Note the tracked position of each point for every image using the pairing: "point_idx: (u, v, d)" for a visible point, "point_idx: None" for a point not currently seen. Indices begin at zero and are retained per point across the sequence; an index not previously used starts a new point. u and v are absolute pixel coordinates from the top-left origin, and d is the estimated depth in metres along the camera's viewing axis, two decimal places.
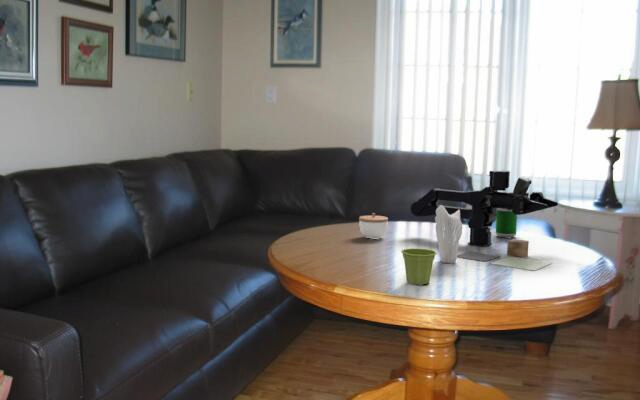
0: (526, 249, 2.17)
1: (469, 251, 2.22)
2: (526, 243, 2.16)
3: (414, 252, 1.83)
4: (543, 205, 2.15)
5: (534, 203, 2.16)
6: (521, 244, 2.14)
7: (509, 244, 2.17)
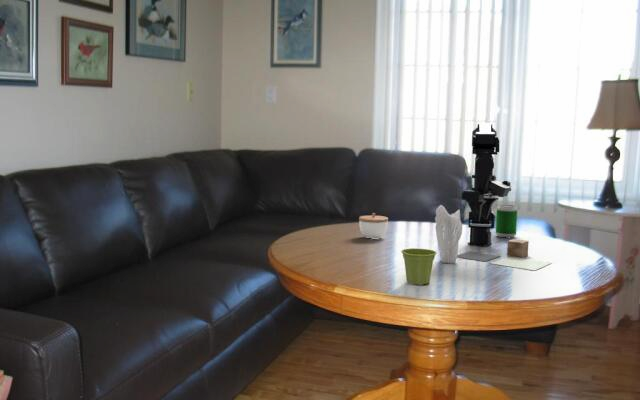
0: (526, 249, 2.17)
1: (469, 251, 2.22)
2: (526, 243, 2.16)
3: (414, 252, 1.83)
4: (477, 218, 2.10)
5: (478, 210, 2.09)
6: (521, 244, 2.14)
7: (509, 244, 2.17)
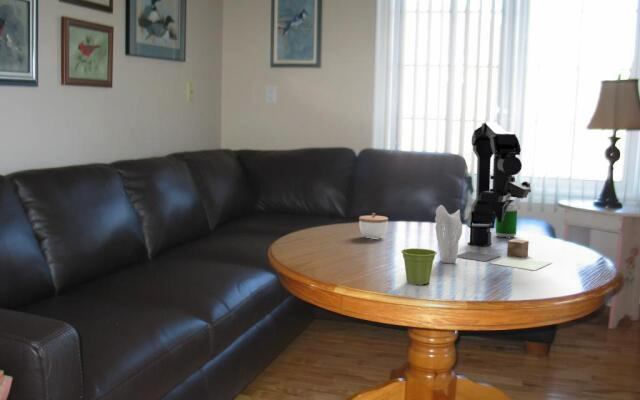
0: (526, 249, 2.17)
1: (469, 251, 2.22)
2: (526, 243, 2.16)
3: (414, 252, 1.83)
4: (500, 219, 2.08)
5: (501, 210, 2.07)
6: (521, 244, 2.14)
7: (509, 244, 2.17)
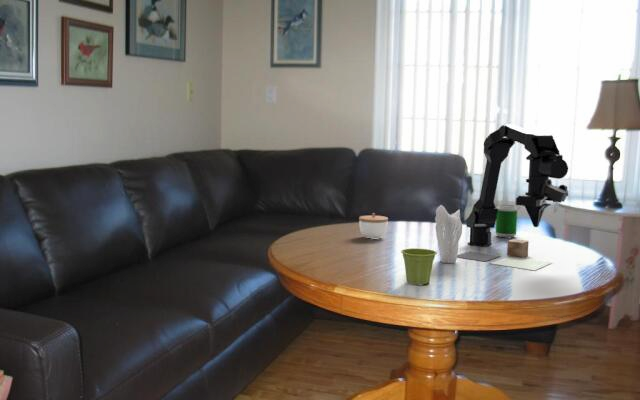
0: (526, 249, 2.17)
1: (469, 251, 2.22)
2: (526, 243, 2.16)
3: (414, 252, 1.83)
4: (536, 223, 2.01)
5: (537, 215, 2.00)
6: (521, 244, 2.14)
7: (509, 244, 2.17)
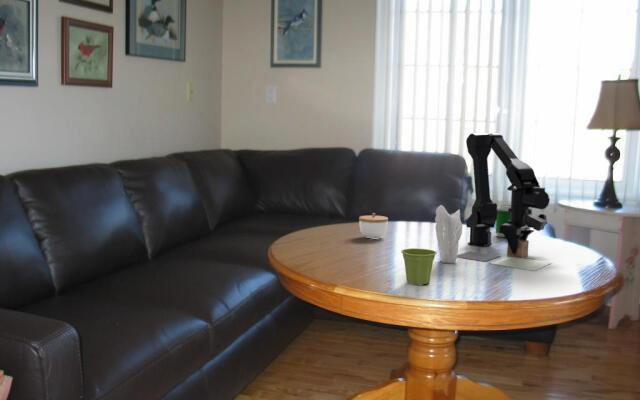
0: (526, 249, 2.17)
1: (469, 251, 2.22)
2: (526, 243, 2.16)
3: (414, 252, 1.83)
4: (514, 250, 2.15)
5: (515, 242, 2.14)
6: (521, 244, 2.14)
7: None
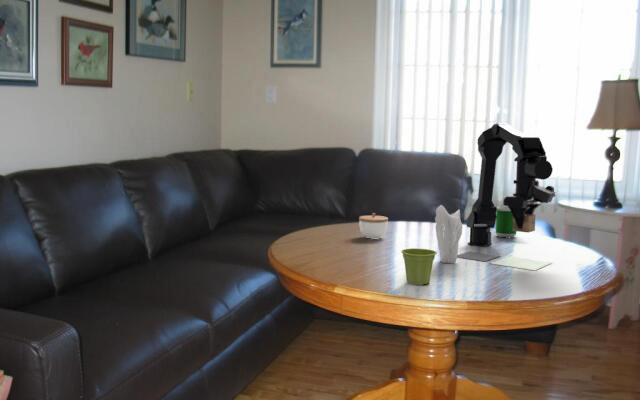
0: (533, 224, 2.03)
1: (469, 251, 2.22)
2: (533, 217, 2.03)
3: (414, 252, 1.83)
4: (520, 225, 2.02)
5: (521, 216, 2.01)
6: (528, 217, 2.01)
7: None
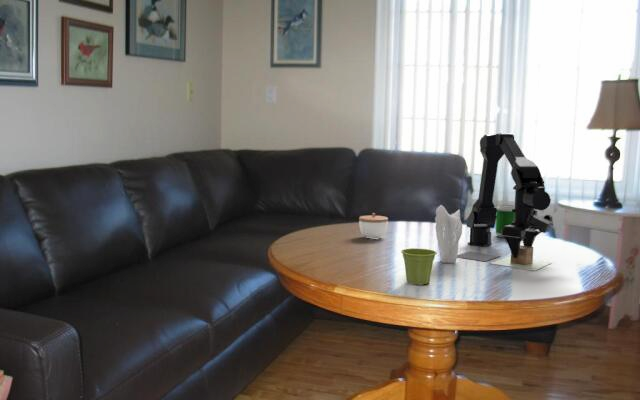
0: (530, 256, 2.04)
1: (469, 251, 2.22)
2: (531, 249, 2.04)
3: (414, 252, 1.83)
4: (516, 254, 2.01)
5: (516, 246, 2.00)
6: (525, 250, 2.02)
7: None
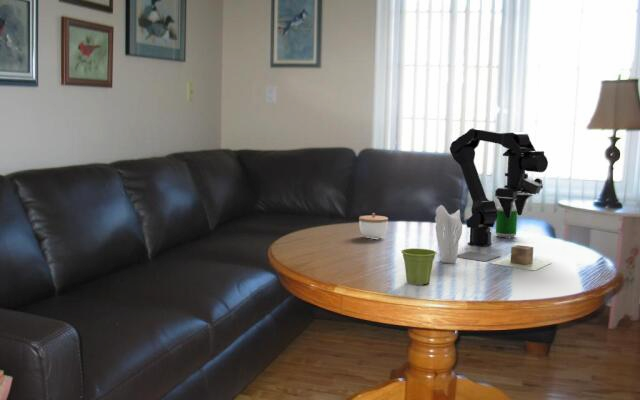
0: (530, 256, 2.04)
1: (469, 251, 2.22)
2: (531, 249, 2.04)
3: (414, 252, 1.83)
4: (508, 215, 2.18)
5: (509, 207, 2.17)
6: (525, 250, 2.02)
7: (513, 250, 2.04)
